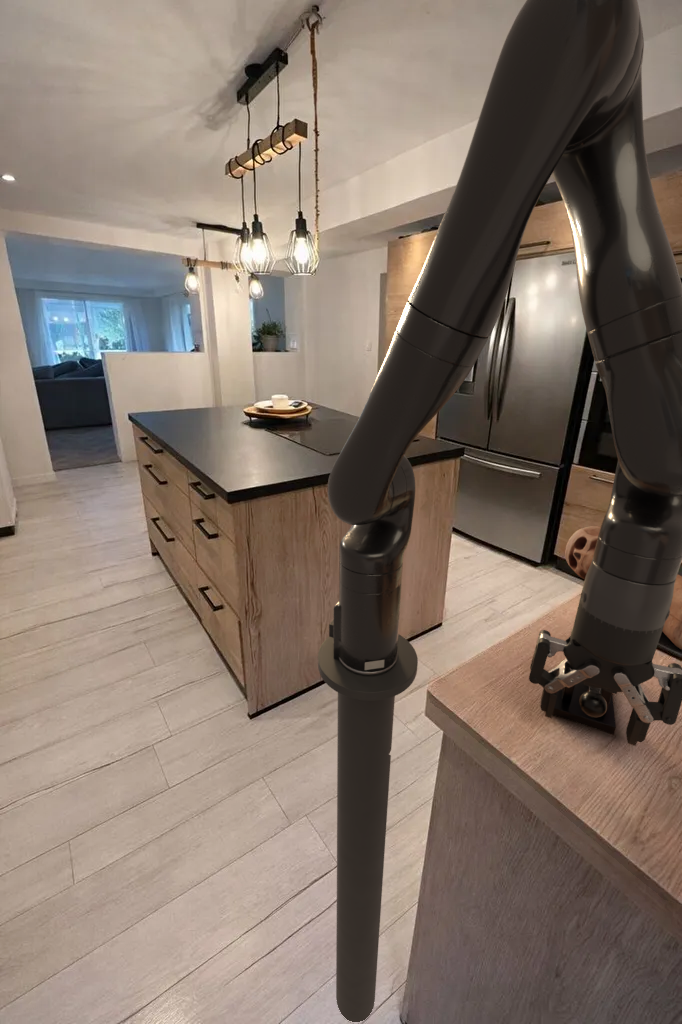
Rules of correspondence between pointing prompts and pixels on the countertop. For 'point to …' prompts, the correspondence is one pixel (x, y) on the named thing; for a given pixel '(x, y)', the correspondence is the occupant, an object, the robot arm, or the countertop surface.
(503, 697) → the countertop surface
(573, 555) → the sculpture
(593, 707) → the lever
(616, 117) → the robot arm
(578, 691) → the bracket
